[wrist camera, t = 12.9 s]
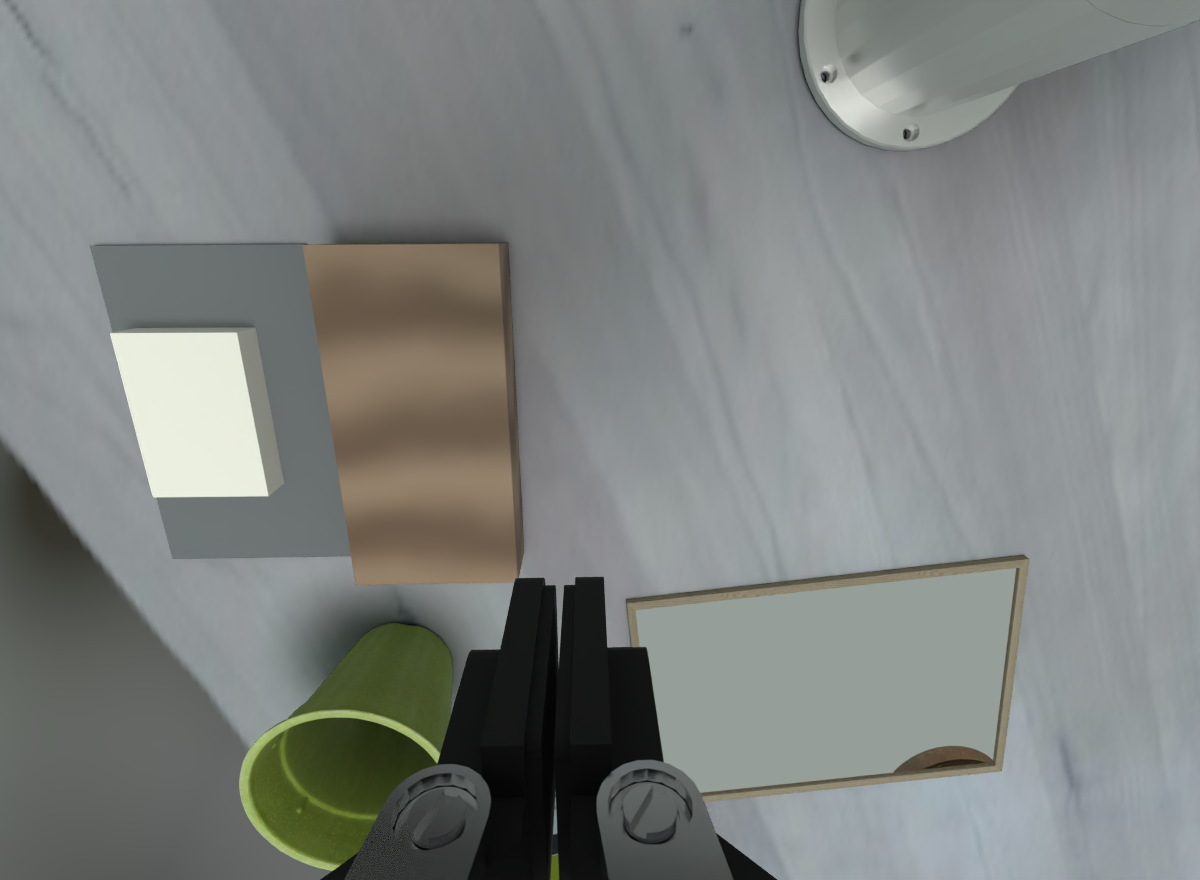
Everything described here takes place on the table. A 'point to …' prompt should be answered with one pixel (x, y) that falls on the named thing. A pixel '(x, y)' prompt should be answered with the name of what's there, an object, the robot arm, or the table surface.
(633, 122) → the table surface
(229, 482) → the cream white slab
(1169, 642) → the table surface
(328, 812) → the plant pot
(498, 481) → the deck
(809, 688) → the picture frame
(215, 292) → the mat
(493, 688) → the robot arm
